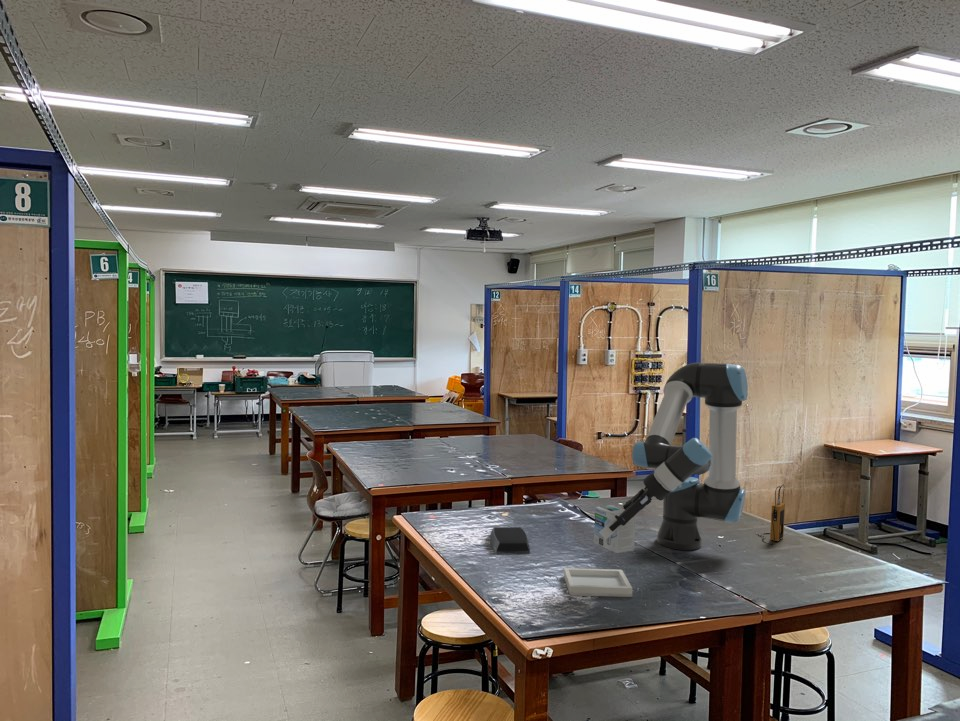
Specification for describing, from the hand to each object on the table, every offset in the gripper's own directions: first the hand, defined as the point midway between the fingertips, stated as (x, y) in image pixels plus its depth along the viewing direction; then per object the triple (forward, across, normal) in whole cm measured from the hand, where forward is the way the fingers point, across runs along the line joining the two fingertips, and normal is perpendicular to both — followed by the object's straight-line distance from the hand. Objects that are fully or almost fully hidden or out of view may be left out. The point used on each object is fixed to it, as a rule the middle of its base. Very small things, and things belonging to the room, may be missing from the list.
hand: (605, 529), depth 193 cm
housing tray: (+13, -1, -10) cm, 17 cm away
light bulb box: (+2, 0, -5) cm, 5 cm away
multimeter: (-22, +71, -46) cm, 88 cm away
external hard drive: (+38, +25, +14) cm, 47 cm away
